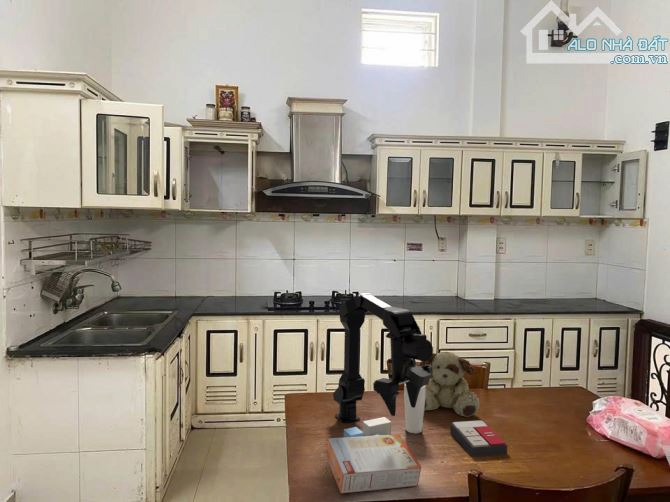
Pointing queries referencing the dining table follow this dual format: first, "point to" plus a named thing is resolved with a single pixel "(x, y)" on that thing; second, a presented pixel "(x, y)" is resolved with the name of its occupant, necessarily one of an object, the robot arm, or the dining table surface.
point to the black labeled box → (478, 438)
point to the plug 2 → (377, 427)
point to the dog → (450, 384)
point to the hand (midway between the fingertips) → (403, 411)
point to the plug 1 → (353, 432)
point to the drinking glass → (414, 411)
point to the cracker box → (372, 463)
